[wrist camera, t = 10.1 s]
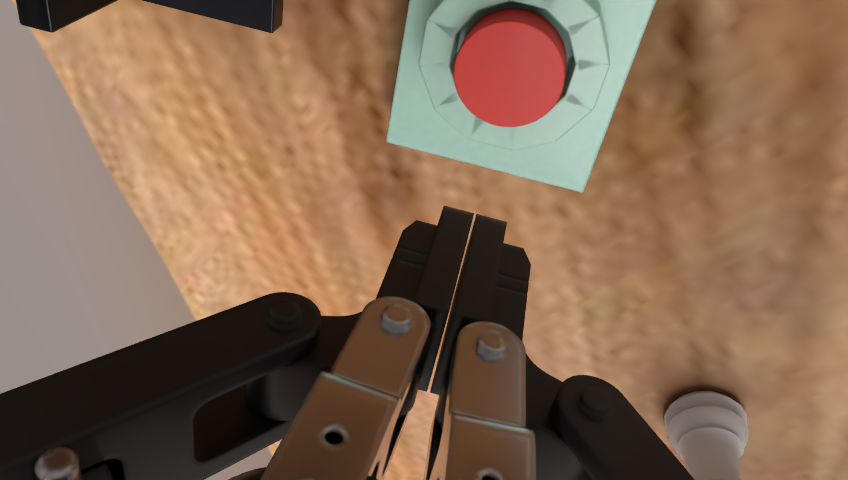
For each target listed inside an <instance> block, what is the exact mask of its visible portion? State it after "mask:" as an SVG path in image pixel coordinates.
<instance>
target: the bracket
mask: <svg viewBox="0 0 848 480" xmlns="http://www.w3.org/2000/svg"><path fill="white" fill-rule="evenodd" d="M115 1H117V0H16V3H17V9H18V14H19V20H20V23H21V24H22V25H25V26H28V27H32V28H36V29H40V30H44V31H48V32H55V31H57V30H59V29H61V28H63V27H65V26H67V25H69V24H71V23H73V22H75V21H77V20H79V19H81V18H83V17H85V16H87V15H89V14H91V13H93V12H95V11H97V10H99V9H101V8H103V7H105V6H107V5H109V4H111V3H113V2H115ZM143 1H147V2H151V3H155V4H159V5H163V6H167V7H171V8H175V9H179V10H182V11H186V12H190V13H194V14H198V15H202V16H206V17H210V18H214V19H218V20H222V21H226V22H230V23H234V24H238V25H242V26H246V27H250V28H254V29H258V30H261V31H265V32H269V33H273V32H274V31H275V30H277V29H278V28H279V27H280V26H281V25H282V10H283V0H143Z"/></svg>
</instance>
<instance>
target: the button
mask: <svg viewBox="0 0 848 480" xmlns="http://www.w3.org/2000/svg"><path fill="white" fill-rule="evenodd" d="M565 73H566V51H565V47H564V43H563V41H562V39H561V36H560V35H559V33H558V32H557V30H556V29H555V27H554V26H553V25H552V24H551V23H550V22H549V21H547V20H546V19H545V18H543V17H542V16H540V15H538V14H536V13H534V12H532V11H528V10H525V9H518V8H509V9H502V10H497V11H495V12H492V13H490V14H488V15H486V16H484V17H483V18H481V19H480V20H478V21H477V22H476V23H475V24H474V25H473V26H472V28H471V29H470V30H469V31H468V33H467V35H466V36H465V38H464V41H463V43H462V45H461V47H460V49H459V52H458V54H457V56H456V60H455V64H454V83H455V87H456V90H457V93H458V95H459V97H460V99H461V101H462V102H463V104H464V105H465V106H466V108H467V109H468V110H469V111H470V112H471V113H472V114H474V115H475V116H476V117H478V118H479V119H481V120H483V121H485V122H487V123H489V124H492V125H496V126H501V127H518V126H523V125H527V124H530V123H532V122H535V121H537V120H538V119H540V118H542V117H543V116H544V115H546V114H547V113H548V112H549V111H550V110H551V109H552V108H553V107H554V105H555V104H556V103H557V101H558V99H559V97H560V96H561V93H562V91H563V87H564V83H565Z"/></svg>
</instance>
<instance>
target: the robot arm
mask: <svg viewBox="0 0 848 480" xmlns="http://www.w3.org/2000/svg"><path fill="white" fill-rule="evenodd" d="M473 215H474V213H471V212H467V211H463V210H459V209H455V208H452V207H448V206H444V207H443V210H442V213H441V216H440V219H439V222H438V225H437V226H436V225H433V224H429V223H425V222H421V221H418V220H416V221H415V222H414V223H412V224H411V225H410V226H408V227H407V228H406V229H404V230H403V232H402V234H401V237H400V239H399V242H398V244H397V247H396V249H395V252H394V254H393V258H392V259H391V262H390V264H389V267H388V269H387V272H386V274H385V277H384V279H383V282H382V284H381V287H380V289H379V292H378V294H377V297H376V299H375V300H373V301H371V302H370V303H368V304H367V305H366V306H365V308H364V309H363V311H362V312H360V313H357V314H354V315H349V316H321V314H320V311H319V309H318V307H317V306H316V305H315V304H314V303H313V302H312V301H311V300H309V299H308V298H306V297H304V296H302V295H298V294H295V293H288V292H278V293H272V294H268V295H265V296H263V297H260V298H257V299H254V300H252V301H249V302H246V303H244V304H241V305H238V306H236V307H233V308H230V309H228V310H225V311H222V312H219V313H217V314H214V315H211V316H209V317H206V318H203V319H201V320H198V321H195V322H193V323H190V324H187V325H185V326H182V327H179V328H176V329H174V330H171V331H168V332H166V333H163V334H160V335H158V336H155V337H152V338H150V339H147V340H144V341H142V342H139V343H136V344H134V345H131V346H128V347H125V348H123V349H120V350H117V351H114V352H112V353H110V354H106V355H104V356H101V357H98V358H96V359H93V360H91V361H88V362H85V363H82V364H80V365H77V366H74V367H72V368H69V369H66V370H63V371H61V372H58V373H55V374H53V375H50V376H47V377H45V378H42V379H39V380H37V381H34V382H31V383H29V384H26V385H23V386H21V387H18V388H15V389H12V390H10V391H7V392H5V393H2V394H0V480H204V479H206V478H208V477H210V476H212V475H213V474H216V473H218V472H220V471H221V470H223V469H225V468H227V467H229V466H231V465H233V464H235V463H237V462H239V461H240V460H243V459H244V458H246V457H248V456H250V455H252V454H254V453H256V452H258V451H260V450H262V449H263V448H265V447H267V446H269V445H271V444H273V443H275V442H277V441H279V440H281V439H282V441H281V442H280V444H279V446H278V448H277V450H276V451H275V453H274V455H273V457H272V459H271V460H270V462H269V464H268V466H267V467H265V468H259V469H255V470H252V471H248V472H245V473H242V474H240V475H238V476H235V477H233V478H231V479H229V480H384V478H385V475H386V472H387V470H388V467H389V464H390V462H391V459H392V457H393V454H394V451H395V449H396V446H397V444H398V441H399V438H400V436H401V433H402V430H403V428H404V425H405V423H406V420H407V416H408V412H409V411H410V410H411V408H412V407H413V405H414V402H415V398H416V395H417V391H418V389H419V390H423V391H426V392H427V389H428V386H429V382H430V378H431V375H432V371H433V368H434V364H435V360H436V357H437V353H438V349H439V346H440V342H441V339H442V335H443V331H444V328H445V324H446V320H447V317H448V313H449V309H450V305H451V301H452V298H453V294H454V290H455V286H456V282H457V278H458V274H459V270H460V266H461V262H462V258H463V254H464V250H465V247H466V243H467V239H468V235H469V231H470V227H471V223H472V219H473ZM506 224H507V222H505V221H501V220H498V219H494V218H490V217H486V216H482V215H479V214H477V215H476V218H475V222H474V225H473V229H472V232H471V236H470V240H469V243H468V247H467V251H466V254H465V258H464V261H463V265H462V269H461V272H460V276H459V280H458V284H457V287H456V291H455V295H454V299H453V303H452V307H451V311H450V315H449V319H448V323H447V327H446V331H445V335H444V339H443V343H442V347H441V351H440V355H439V359H438V363H437V367H436V371H435V375H434V379H433V383H432V387H431V391H430V392H431V393H434V394H438V395H439V399H438V403H437V408H436V411H435V415H434V418H433V422H432V425H431V431H430V438H429V445H428V452H427V459H426V466H425V473H424V480H695V479H694V478H693V477H692V476H691V475H690V473H689V472H688V471H687V470H686V469H685V468H684V466H683V465H682V464H681V463H680V462H679V460H678V459H677V458H676V457H675V456H674V455H673V453H672V452H671V451H670V450H669V449H668V448H667V446H666V445H665V444H664V443H663V442H662V440H661V439H660V438H659V437H658V436H657V435H656V433H655V432H654V431H653V430H652V429H651V428H650V426H649V425H648V424H647V423H646V422H645V420H644V419H643V418H642V417H641V416H640V415H639V413H638V412H637V411H636V410H635V409H634V407H633V406H632V405H631V404H630V403H629V402H628V400H627V399H626V398H625V397H624V396H623V395H622V393H621V392H620V391H619V390H618V389H616V388H615V387H614V386H613V385H611V384H609V383H608V382H606V381H604V380H602V379H599V378H597V377H593V376H588V375H577V376H572V377H570V378H568V379H566V380H565V381H564V382H561V381H560V380H558V379H556V378H554V377H552V376H550V375H549V374H547V373H545V372H544V371H542V370H541V369H540V368H538V367H537V366H536V365H535V364H534V363H533V362H532V361H531V360H530V358H529V357H528V356H527V354H526V351H525V347H524V344H523V343H522V337H523V328H524V319H525V310H526V302H527V292H528V284H529V282H528V281H529V275H530V266H531V264H530V262H529V259H528V257H527V255H526V253H525V251H524V249H523V248H520V247H516V246H512V245H508V244H505V243H503V241H504V235H505V230H506Z"/></svg>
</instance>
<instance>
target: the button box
mask: <svg viewBox="0 0 848 480" xmlns="http://www.w3.org/2000/svg"><path fill="white" fill-rule="evenodd" d="M655 2H656V0H409V5H408V11H407V17H406V23H405V29H404V35H403V41H402V47H401V53H400V59H399V65H398V71H397V77H396V83H395V89H394V95H393V101H392V107H391V113H390V119H389V125H388V131H387V137H386V141H387V142H389V143H393V144H397V145H401V146H404V147H408V148H412V149H416V150H420V151H424V152H428V153H431V154H435V155H439V156H443V157H447V158H451V159H454V160H458V161H462V162H466V163H470V164H474V165H478V166H481V167H485V168H489V169H493V170H497V171H501V172H505V173H508V174H512V175H516V176H520V177H524V178H528V179H532V180H535V181H539V182H543V183H547V184H551V185H555V186H558V187H562V188H566V189H570V190H574V191H578V192H583V191H584V189H585V186H586V183H587V181H588V178H589V176H590V173H591V170H592V168H593V165H594V162H595V160H596V157H597V155H598V152H599V149H600V147H601V144H602V141H603V139H604V136H605V134H606V131H607V128H608V126H609V123H610V120H611V118H612V115H613V113H614V110H615V107H616V105H617V102H618V99H619V97H620V94H621V92H622V89H623V86H624V84H625V81H626V79H627V76H628V73H629V71H630V68H631V65H632V63H633V60H634V58H635V55H636V52H637V50H638V47H639V44H640V42H641V39H642V37H643V34H644V31H645V29H646V26H647V23H648V21H649V18H650V16H651V13H652V10H653V8H654V5H655ZM509 8H518V9H525V10H528V11H532V12H534V13H536V14H538V15H540V16H542V17H543V18H545V19H546V20H547V21H549V22H550V23H551V24H552V25H553V26H554V27H555V29H556V30H557V32H558V33H559V35H560V36H561V39H562V41H563V43H564V47H565V51H566V73H565V83H564V87H563V91H562V93H561V96H560V97H559V99H558V101H557V103H556V104H555V105H554V107H553V108H552V109H551V110H550V111H549V112H548V113H547V114H546V115H544V116H543V117H542V118H540V119H538V120H537V121H535V122H532V123H530V124H527V125H523V126H518V127H501V126H496V125H492V124H489V123H487V122H485V121H483V120H481V119H479V118H478V117H476V116H475V115H474V114H472V113H471V112H470V111H469V110H468V109H467V108H466V106H465V105H464V104H463V102H462V101H461V99H460V97H459V95H458V93H457V90H456V87H455V83H454V64H455V60H456V56H457V54H458V52H459V49H460V47H461V45H462V43H463V41H464V38H465V36H466V35H467V33H468V31H469V30H470V29H471V28H472V26H473V25H474V24H475V23H476V22H477V21H478V20H480V19H481V18H483V17H484V16H486V15H488V14H490V13H492V12H495V11H497V10H502V9H509Z"/></svg>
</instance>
